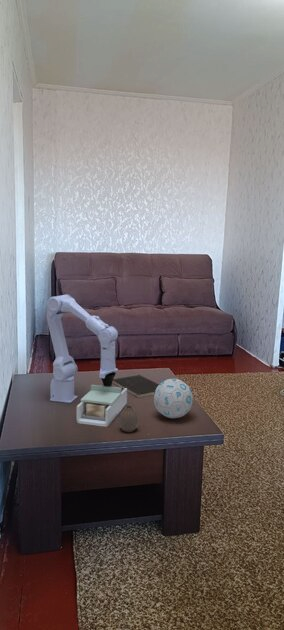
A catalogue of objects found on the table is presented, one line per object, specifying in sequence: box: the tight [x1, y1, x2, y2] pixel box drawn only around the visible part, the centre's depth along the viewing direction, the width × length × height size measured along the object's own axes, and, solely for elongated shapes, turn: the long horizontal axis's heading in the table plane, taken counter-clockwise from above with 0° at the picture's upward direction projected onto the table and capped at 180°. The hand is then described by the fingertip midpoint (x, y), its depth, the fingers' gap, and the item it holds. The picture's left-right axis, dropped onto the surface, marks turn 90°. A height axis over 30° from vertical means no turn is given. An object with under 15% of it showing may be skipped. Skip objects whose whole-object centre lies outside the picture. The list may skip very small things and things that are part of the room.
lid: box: [80, 384, 122, 406], centre depth 180 cm, size 12×12×3 cm
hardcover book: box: [112, 374, 160, 398], centre depth 215 cm, size 16×23×2 cm
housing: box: [76, 384, 128, 428], centre depth 183 cm, size 12×26×6 cm, turn 166°
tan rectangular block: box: [86, 402, 109, 418], centre depth 177 cm, size 7×4×5 cm, turn 76°
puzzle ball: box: [153, 378, 194, 419], centre depth 180 cm, size 15×15×15 cm
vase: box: [118, 405, 139, 433], centre depth 167 cm, size 7×7×9 cm
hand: (107, 390), depth 187 cm, fingers closed
